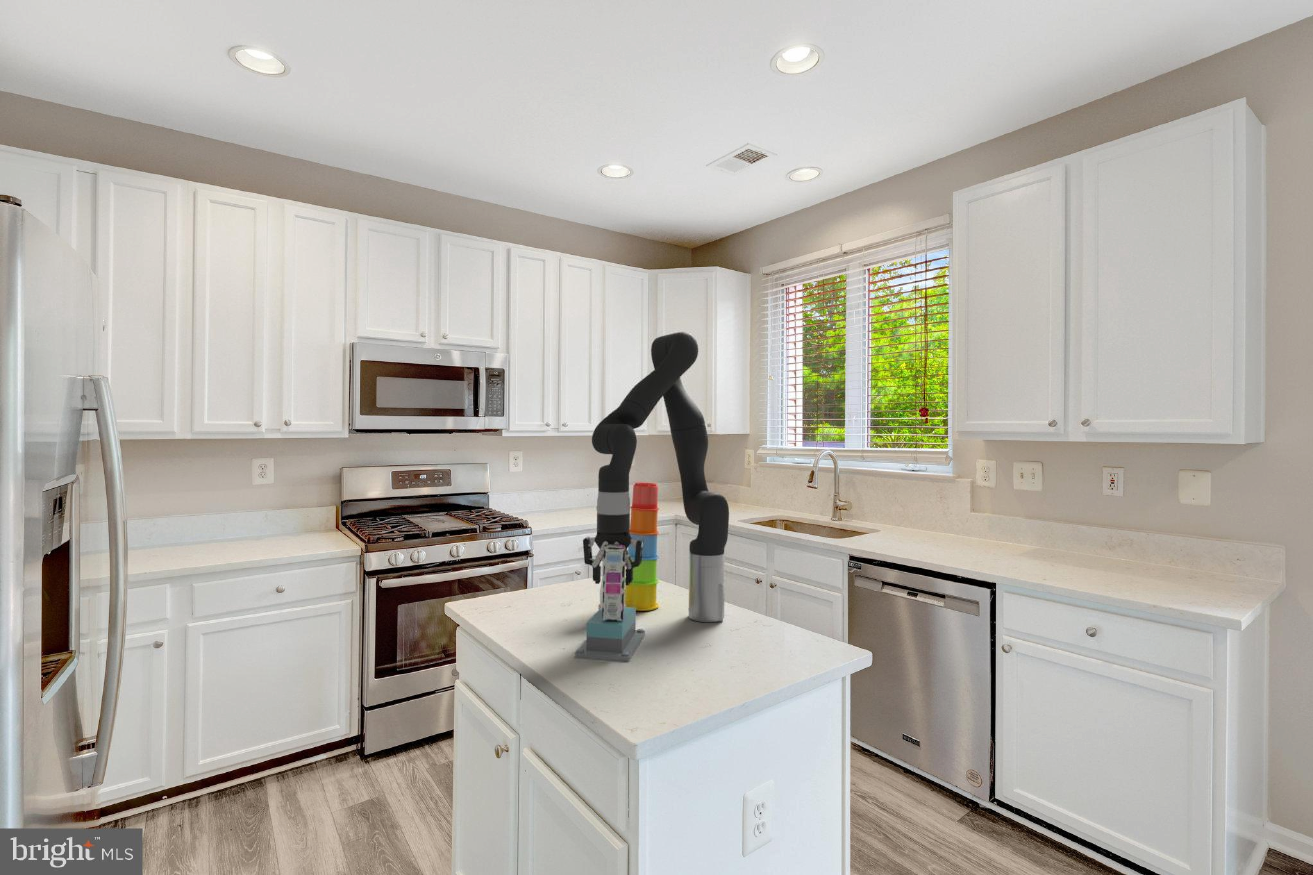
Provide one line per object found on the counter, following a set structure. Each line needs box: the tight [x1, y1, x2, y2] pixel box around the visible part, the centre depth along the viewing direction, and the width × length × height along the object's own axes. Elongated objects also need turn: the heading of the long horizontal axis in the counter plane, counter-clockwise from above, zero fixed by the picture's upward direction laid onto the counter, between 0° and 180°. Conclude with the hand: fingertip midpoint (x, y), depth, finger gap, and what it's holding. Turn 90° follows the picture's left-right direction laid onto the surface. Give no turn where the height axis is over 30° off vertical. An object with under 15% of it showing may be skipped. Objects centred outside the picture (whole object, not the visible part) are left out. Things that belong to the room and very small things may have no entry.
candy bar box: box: [602, 544, 626, 622], centre depth 143 cm, size 11×5×16 cm, turn 3°
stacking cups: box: [625, 482, 660, 612], centre depth 175 cm, size 10×10×35 cm
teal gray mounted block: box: [574, 607, 646, 662], centre depth 143 cm, size 12×18×7 cm, turn 170°
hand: (612, 583), depth 143 cm, fingers open, 6 cm apart
